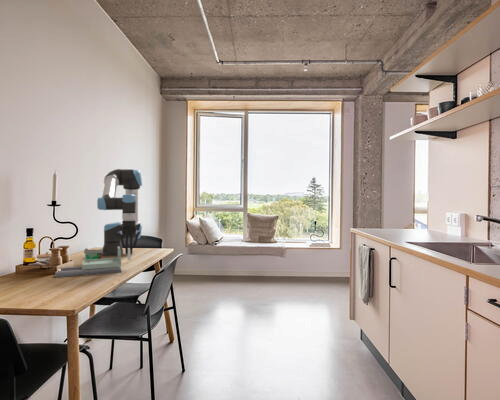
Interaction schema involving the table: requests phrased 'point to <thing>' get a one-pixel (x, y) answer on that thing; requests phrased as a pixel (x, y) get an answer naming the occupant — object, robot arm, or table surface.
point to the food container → (92, 254)
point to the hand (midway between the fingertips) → (128, 259)
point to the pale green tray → (102, 262)
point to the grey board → (85, 271)
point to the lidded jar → (43, 257)
